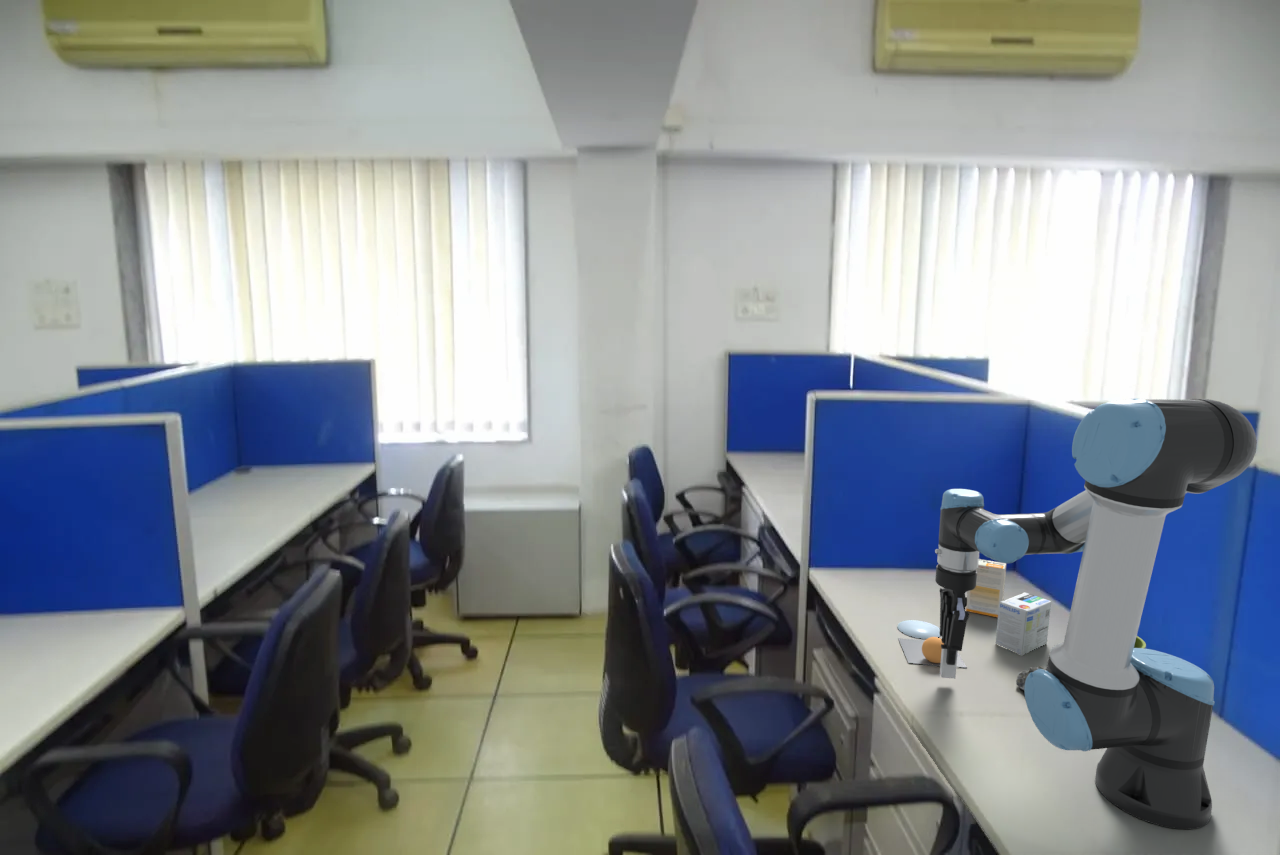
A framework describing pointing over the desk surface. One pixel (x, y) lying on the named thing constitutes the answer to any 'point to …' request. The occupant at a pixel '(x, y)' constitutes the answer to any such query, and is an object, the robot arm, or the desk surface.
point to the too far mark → (919, 629)
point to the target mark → (916, 656)
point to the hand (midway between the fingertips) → (947, 676)
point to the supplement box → (987, 588)
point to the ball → (932, 649)
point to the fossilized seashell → (1025, 676)
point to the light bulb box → (1023, 623)
